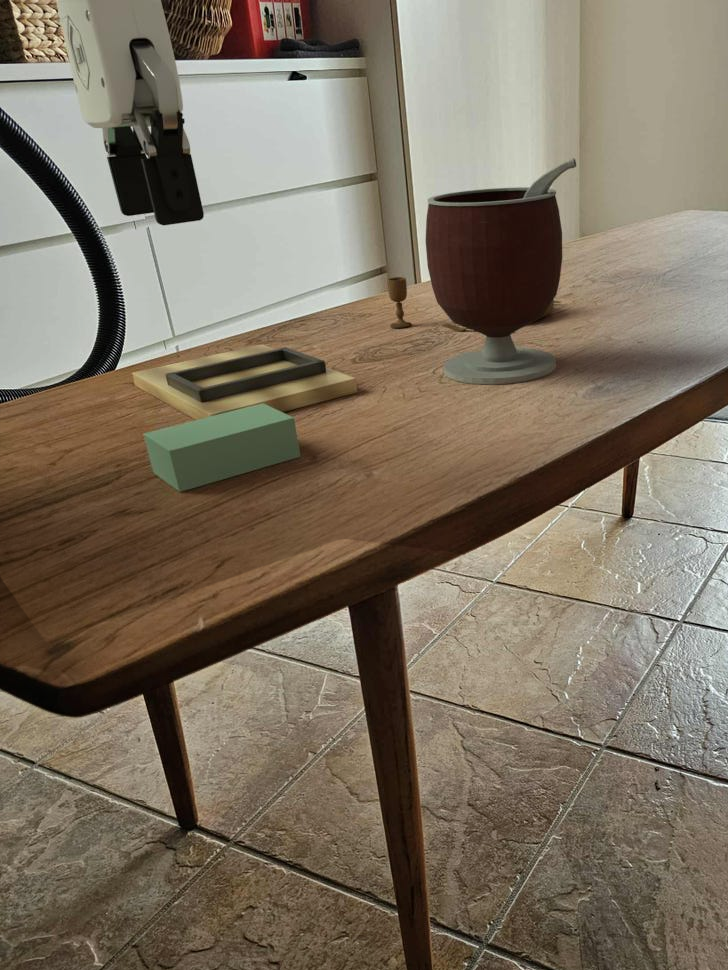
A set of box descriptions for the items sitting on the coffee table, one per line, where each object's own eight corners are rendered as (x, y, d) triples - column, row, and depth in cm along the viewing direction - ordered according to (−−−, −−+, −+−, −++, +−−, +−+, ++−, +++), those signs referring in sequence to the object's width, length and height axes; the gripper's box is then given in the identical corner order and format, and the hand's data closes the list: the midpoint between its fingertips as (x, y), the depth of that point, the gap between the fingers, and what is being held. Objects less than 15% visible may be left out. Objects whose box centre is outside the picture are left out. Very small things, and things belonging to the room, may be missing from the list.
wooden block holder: (213, 430, 86) (207, 402, 84) (135, 386, 101) (128, 361, 99) (357, 392, 93) (354, 366, 92) (264, 356, 109) (260, 334, 107)
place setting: (529, 334, 110) (527, 283, 107) (385, 329, 117) (379, 281, 114) (571, 303, 124) (570, 257, 121) (439, 300, 131) (435, 257, 128)
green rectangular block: (179, 492, 72) (169, 450, 71) (153, 473, 77) (142, 433, 75) (300, 457, 78) (294, 417, 76) (270, 440, 82) (263, 403, 80)
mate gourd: (418, 384, 95) (397, 171, 84) (460, 350, 106) (447, 158, 95) (561, 389, 90) (558, 165, 80) (590, 353, 101) (591, 152, 91)
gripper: (5, -60, 61) (83, 217, 70) (53, -111, 48) (140, 235, 57) (117, -60, 64) (178, 204, 73) (190, -109, 51) (252, 218, 60)
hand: (161, 217), depth 65 cm, fingers open, 9 cm apart
